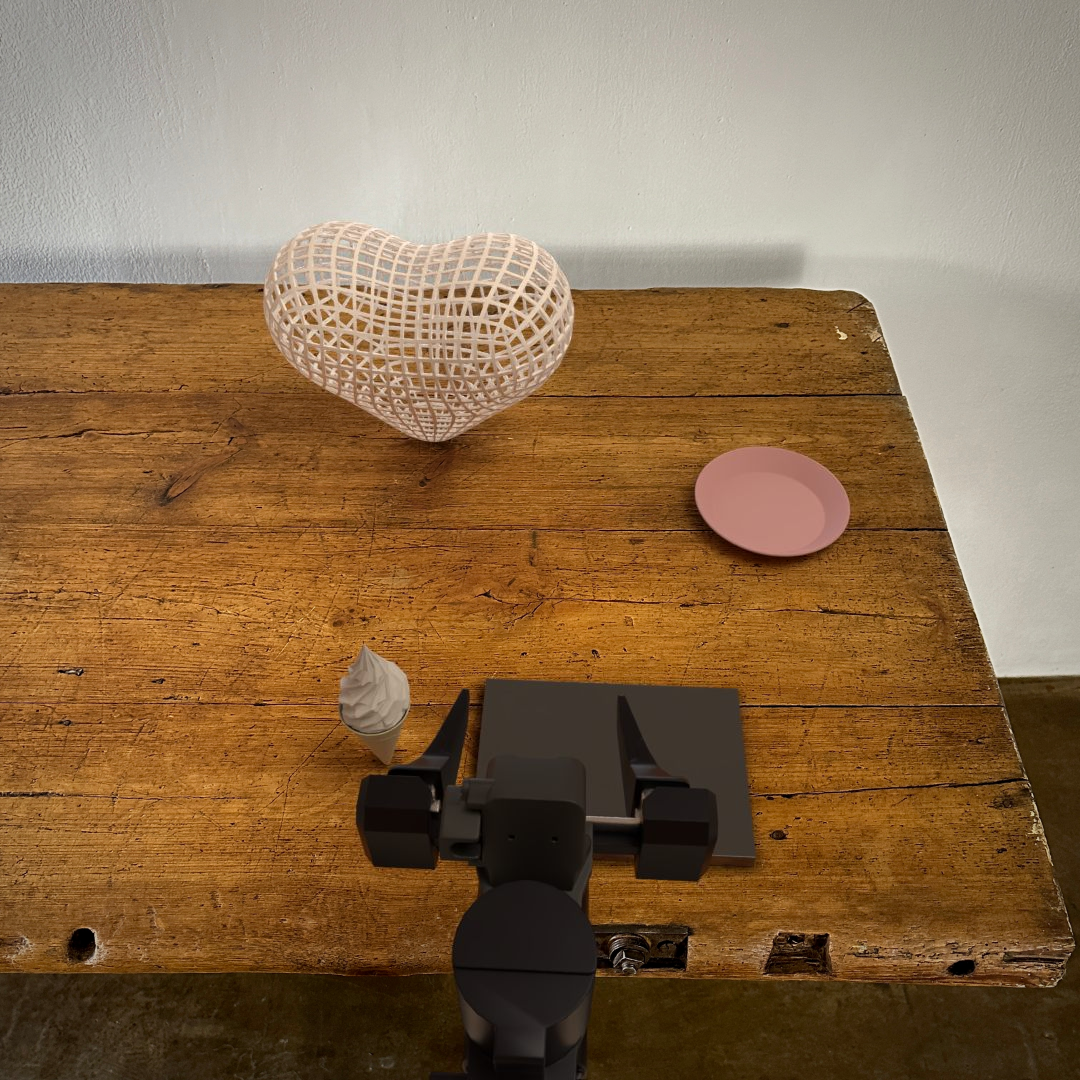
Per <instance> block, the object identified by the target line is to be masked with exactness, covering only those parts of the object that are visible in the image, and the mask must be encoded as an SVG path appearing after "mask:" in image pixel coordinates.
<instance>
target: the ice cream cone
mask: <svg viewBox="0 0 1080 1080" xmlns="http://www.w3.org/2000/svg"><path fill="white" fill-rule="evenodd" d="M347 672H348V675H345V676H342V677H341V678H340V679H339V680H340V682H339V690H341V691H340V692H339V695H338V705H337V706H338V707H337V712H338V717H339V719H340V721H341V723H342V724H343V725H344V726H345V728H346V729H348V730H349V731H351V732H353V733H354V735H355V736H356V737H357V738H358V739H359V740H360V741H361V742H362V743H363V744H364V745H365V746H366V747H367V748H368V749H369V750H370V751H371V752H372V753H373V754H374V755H375V756H376V757H377V758H378V759H379V760H380V761H381V762H382V764H383V765H384V766H389V765H390V764H391V762H392V759H393V756H394V753H395V749H396V747H397V744H398V741H399V737H400V735H401V731H402V728H403V725H404V721H405V720H406V718H407V716H408V714H409V711H410V708H411V695H410V684H409V681H408V677H407V674H406V673H405V672H404V671H403V670H402V669H401V668H400V667H399V666H398V665H397V664H396V663H395V662H394V661H388V660H387V659H386V658H384V657H383V656H380V655H378V654H377V653H376V652H373V651H372V650H371V649H370V648H368V646H367V645H366V644H365V643H363V644H362V645H361V648H360V650H359V653H358V655H357V657H356V660H355V661H354V662H353V663H351V664H350V665H349V667H348V668H347Z"/></svg>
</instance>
